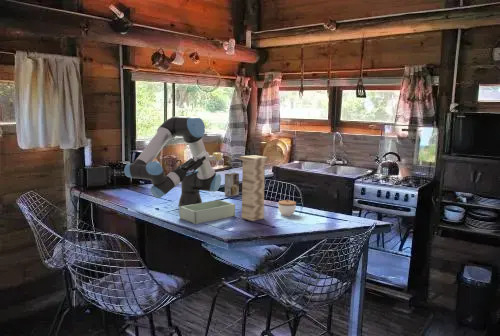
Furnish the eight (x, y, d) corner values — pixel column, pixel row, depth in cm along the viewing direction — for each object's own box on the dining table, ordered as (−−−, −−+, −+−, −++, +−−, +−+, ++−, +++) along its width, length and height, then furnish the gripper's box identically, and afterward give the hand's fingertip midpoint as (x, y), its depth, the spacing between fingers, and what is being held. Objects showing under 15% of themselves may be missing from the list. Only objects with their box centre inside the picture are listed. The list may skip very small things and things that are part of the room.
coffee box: (232, 193, 310) (232, 172, 307) (239, 194, 306) (239, 173, 303) (224, 195, 303) (224, 173, 301) (230, 196, 299) (230, 174, 296)
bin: (194, 224, 226) (194, 211, 225) (179, 218, 236) (179, 206, 235) (235, 215, 245) (235, 204, 244) (219, 210, 256) (219, 199, 255)
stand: (252, 221, 232) (253, 158, 227) (238, 217, 241) (239, 156, 236) (267, 218, 240) (268, 157, 235) (253, 214, 249) (254, 155, 244)
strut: (197, 161, 228) (197, 154, 228) (192, 161, 232) (192, 153, 231) (222, 160, 240) (223, 153, 240) (217, 159, 244) (217, 152, 243)
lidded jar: (294, 212, 255) (295, 197, 254) (296, 217, 245) (296, 201, 244) (277, 212, 256) (278, 197, 254) (278, 216, 245) (278, 201, 244)
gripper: (170, 180, 230) (200, 157, 242) (187, 184, 218) (217, 160, 231) (165, 169, 227) (195, 147, 239) (181, 173, 215) (212, 149, 227)
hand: (206, 153), depth 235 cm, fingers closed on strut, 3 cm apart
